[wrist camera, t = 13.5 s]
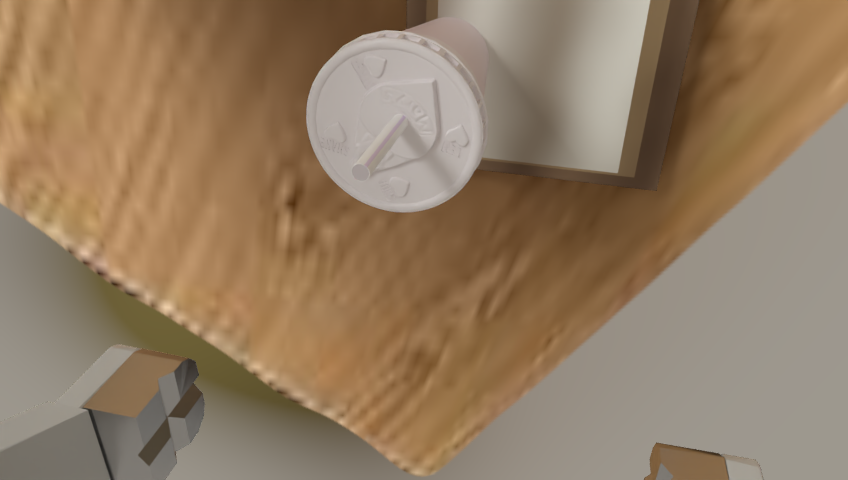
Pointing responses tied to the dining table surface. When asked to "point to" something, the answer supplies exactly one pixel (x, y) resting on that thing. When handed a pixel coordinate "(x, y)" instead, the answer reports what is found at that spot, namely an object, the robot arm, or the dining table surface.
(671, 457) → the robot arm
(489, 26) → the square stepped pedestal
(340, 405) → the dining table surface
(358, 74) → the smoothie
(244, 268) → the dining table surface
